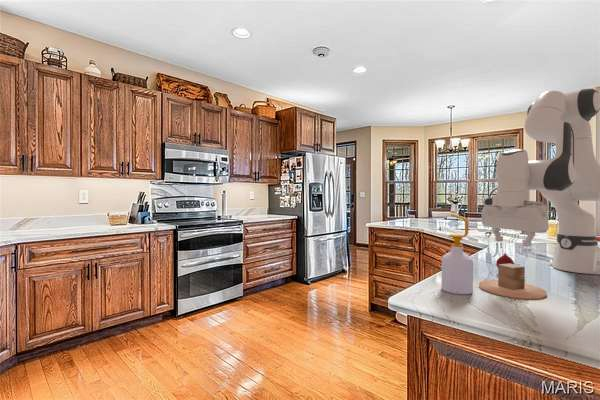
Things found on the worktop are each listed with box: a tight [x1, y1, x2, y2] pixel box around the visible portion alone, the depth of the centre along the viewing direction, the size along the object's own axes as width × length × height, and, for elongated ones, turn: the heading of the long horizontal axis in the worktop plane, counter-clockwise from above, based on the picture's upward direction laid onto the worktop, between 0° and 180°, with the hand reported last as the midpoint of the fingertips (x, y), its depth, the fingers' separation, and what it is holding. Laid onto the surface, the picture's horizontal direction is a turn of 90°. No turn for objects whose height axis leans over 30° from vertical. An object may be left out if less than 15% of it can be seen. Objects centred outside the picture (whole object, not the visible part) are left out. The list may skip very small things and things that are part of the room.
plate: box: [478, 279, 548, 300], centre depth 102 cm, size 18×18×1 cm
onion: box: [495, 252, 515, 268], centre depth 123 cm, size 6×6×8 cm
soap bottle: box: [441, 213, 474, 296], centre depth 101 cm, size 9×9×25 cm
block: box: [497, 263, 526, 290], centre depth 102 cm, size 5×5×7 cm
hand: (512, 243), depth 102 cm, fingers open, 8 cm apart
